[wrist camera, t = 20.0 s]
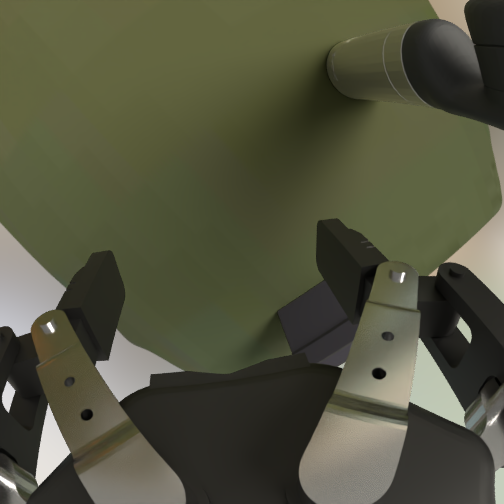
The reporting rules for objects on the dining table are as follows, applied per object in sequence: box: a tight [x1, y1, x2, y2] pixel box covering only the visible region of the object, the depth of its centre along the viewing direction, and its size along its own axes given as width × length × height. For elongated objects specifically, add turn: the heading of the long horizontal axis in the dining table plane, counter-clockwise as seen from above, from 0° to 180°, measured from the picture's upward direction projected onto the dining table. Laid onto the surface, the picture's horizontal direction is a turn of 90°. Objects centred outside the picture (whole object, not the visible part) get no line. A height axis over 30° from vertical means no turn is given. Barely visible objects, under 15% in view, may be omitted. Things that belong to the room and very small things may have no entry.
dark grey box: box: [277, 280, 359, 367], centre depth 46 cm, size 11×4×15 cm, turn 124°
